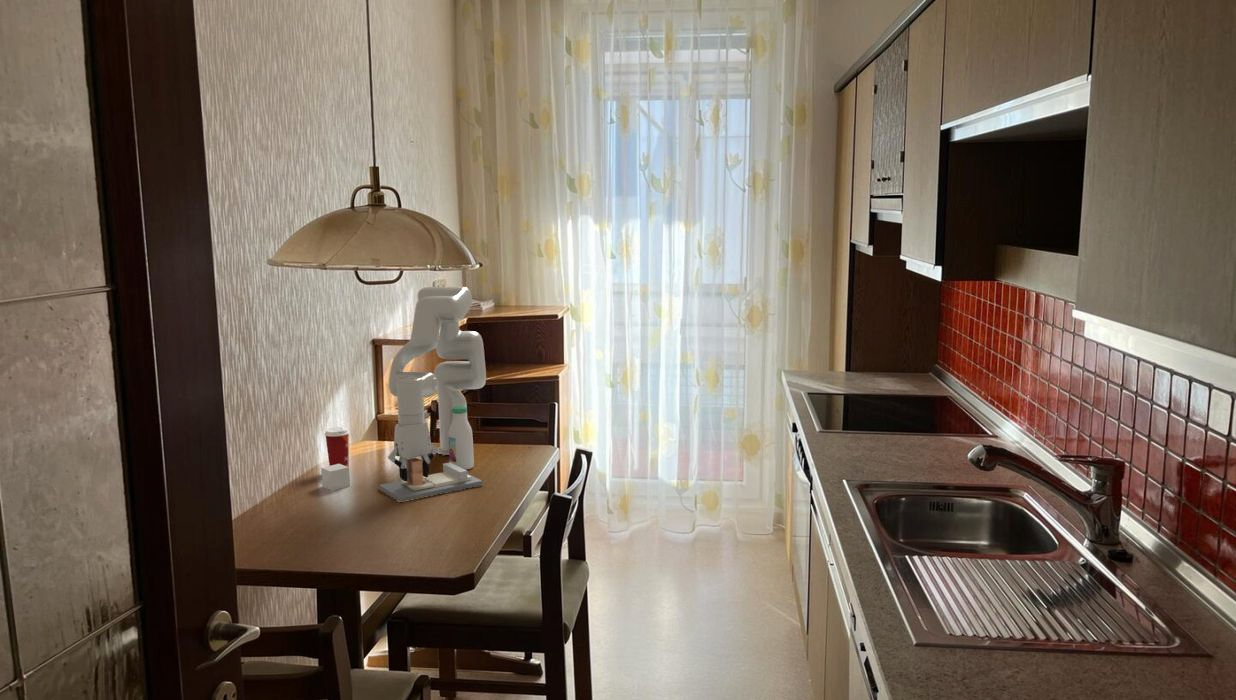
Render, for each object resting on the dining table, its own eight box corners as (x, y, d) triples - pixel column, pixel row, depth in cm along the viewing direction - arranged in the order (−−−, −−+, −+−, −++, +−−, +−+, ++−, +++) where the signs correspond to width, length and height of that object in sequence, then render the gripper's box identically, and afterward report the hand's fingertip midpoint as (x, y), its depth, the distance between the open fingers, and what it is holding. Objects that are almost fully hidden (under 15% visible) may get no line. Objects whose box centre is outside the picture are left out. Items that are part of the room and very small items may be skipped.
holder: (379, 489, 262) (378, 473, 262) (458, 473, 278) (458, 458, 277) (400, 503, 250) (399, 486, 249) (482, 485, 265) (481, 469, 264)
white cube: (332, 490, 263) (330, 471, 262) (322, 487, 267) (320, 467, 266) (350, 486, 267) (349, 467, 266) (340, 482, 271) (339, 463, 270)
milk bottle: (475, 464, 289) (472, 404, 286) (472, 470, 281) (469, 409, 278) (451, 464, 288) (449, 405, 285) (448, 471, 281) (445, 410, 278)
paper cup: (355, 472, 282) (352, 429, 280) (331, 476, 277) (328, 433, 275) (346, 467, 288) (344, 425, 286) (323, 471, 283) (320, 429, 281)
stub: (401, 483, 263) (399, 457, 262) (420, 479, 267) (418, 454, 265) (414, 490, 255) (413, 464, 254) (433, 486, 259) (432, 461, 257)
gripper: (433, 412, 265) (436, 470, 268) (378, 421, 255) (382, 480, 258) (444, 416, 259) (447, 475, 262) (388, 425, 249) (391, 486, 252)
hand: (414, 477), depth 260 cm, fingers open, 5 cm apart
